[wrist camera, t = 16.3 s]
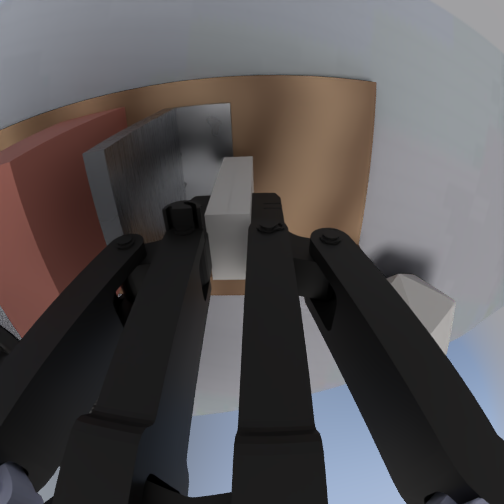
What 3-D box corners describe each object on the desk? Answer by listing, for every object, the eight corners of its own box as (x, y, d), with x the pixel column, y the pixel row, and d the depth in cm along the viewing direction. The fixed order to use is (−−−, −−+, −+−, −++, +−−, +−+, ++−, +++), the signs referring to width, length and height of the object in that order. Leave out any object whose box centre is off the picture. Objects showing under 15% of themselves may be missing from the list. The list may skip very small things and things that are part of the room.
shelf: (20, 260, 23) (-12, 300, 18) (-20, 139, 16) (-68, 167, 11) (352, 255, 22) (375, 313, 17) (371, 81, 15) (419, 91, 10)
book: (89, 238, 20) (22, 338, 12) (60, 122, 15) (-54, 185, 7) (148, 236, 20) (92, 351, 12) (124, 106, 15) (9, 161, 7)
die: (334, 331, 28) (404, 402, 22) (302, 321, 20) (401, 422, 15) (392, 265, 27) (467, 330, 21) (382, 228, 20) (491, 318, 14)
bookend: (180, 229, 20) (140, 334, 12) (163, 108, 15) (82, 153, 8) (238, 227, 20) (225, 338, 12) (230, 102, 15) (201, 137, 8)
